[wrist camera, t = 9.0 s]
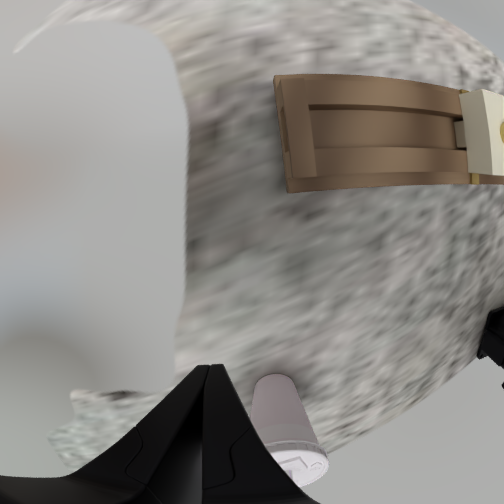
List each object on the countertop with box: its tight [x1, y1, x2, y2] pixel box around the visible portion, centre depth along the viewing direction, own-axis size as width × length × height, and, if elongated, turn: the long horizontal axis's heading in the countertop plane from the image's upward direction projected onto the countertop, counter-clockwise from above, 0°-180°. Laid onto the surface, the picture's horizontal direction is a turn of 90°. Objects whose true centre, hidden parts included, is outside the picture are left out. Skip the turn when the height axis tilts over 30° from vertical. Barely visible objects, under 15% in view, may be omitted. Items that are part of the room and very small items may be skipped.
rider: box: [454, 89, 504, 176], centre depth 13 cm, size 4×5×5 cm
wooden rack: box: [273, 74, 504, 193], centre depth 16 cm, size 20×7×6 cm, turn 97°
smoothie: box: [250, 374, 329, 487], centre depth 18 cm, size 6×6×14 cm
